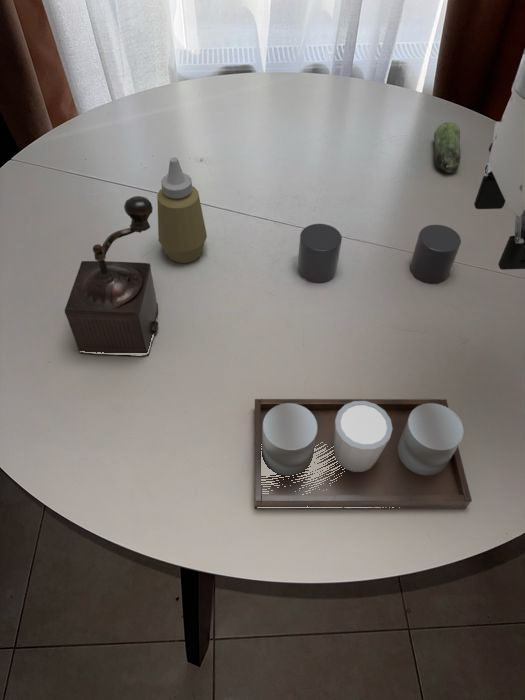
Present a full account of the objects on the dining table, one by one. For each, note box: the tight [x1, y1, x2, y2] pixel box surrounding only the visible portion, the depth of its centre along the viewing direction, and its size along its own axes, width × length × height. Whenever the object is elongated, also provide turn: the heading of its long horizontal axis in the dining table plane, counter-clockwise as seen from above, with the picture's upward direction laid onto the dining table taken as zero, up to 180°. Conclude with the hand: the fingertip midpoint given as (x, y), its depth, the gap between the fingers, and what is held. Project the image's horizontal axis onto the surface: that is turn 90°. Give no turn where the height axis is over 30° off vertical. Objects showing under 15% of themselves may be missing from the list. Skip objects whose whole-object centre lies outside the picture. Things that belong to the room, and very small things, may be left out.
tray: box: [254, 398, 472, 509], centre depth 73 cm, size 26×15×7 cm, turn 91°
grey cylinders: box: [296, 223, 462, 285], centre depth 95 cm, size 26×7×7 cm, turn 91°
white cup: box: [334, 401, 393, 472], centre depth 72 cm, size 7×7×7 cm
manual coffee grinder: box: [64, 195, 159, 353], centre depth 83 cm, size 16×11×18 cm
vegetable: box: [433, 121, 462, 173], centre depth 117 cm, size 14×5×5 cm, turn 170°
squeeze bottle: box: [156, 156, 208, 264], centre depth 92 cm, size 8×8×18 cm
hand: (500, 235), depth 62 cm, fingers open, 9 cm apart
